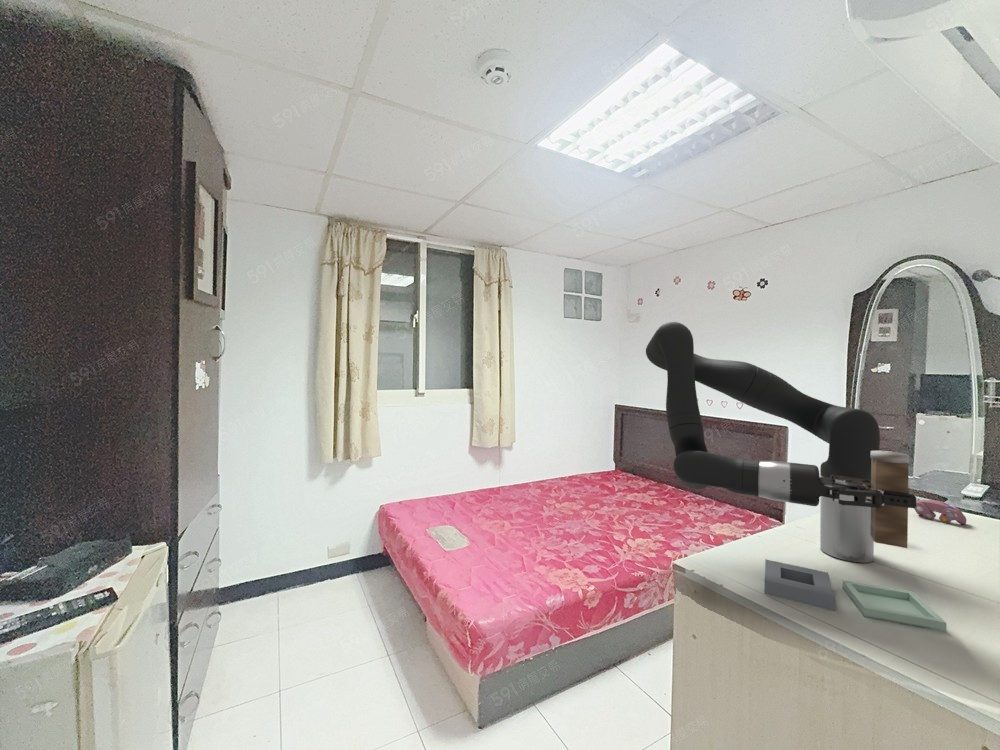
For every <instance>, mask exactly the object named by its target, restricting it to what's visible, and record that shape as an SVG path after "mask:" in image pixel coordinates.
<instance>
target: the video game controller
mask: <svg viewBox="0 0 1000 750" xmlns="http://www.w3.org/2000/svg"><path fill="white" fill-rule="evenodd" d="M913 509H914V511H915V512H916V514H917V515H919V516H923V517H924V518H925V519H927V518H928V520H931V519H932V520H934V519H935V518H936V517H937V515H936V513H939V514H940V515H939V517H938V519H939V521H941V522H942V523H944V522H946V523H945V524H950V523H951V522H952V521H955V522H956V523H958V524H960V525H962V524H964V525H967V518H966V516H965V515H964V513H963V512H962V510H961V509H960V508H958V507H957V506H956V505H954V504H948V503H947V502H943V501H941V500H936V499H927V500H926V499H924V498H920V499H918V500H916V507H915V508H913Z"/></svg>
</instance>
